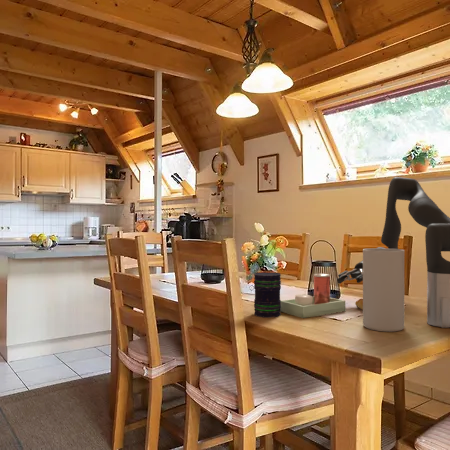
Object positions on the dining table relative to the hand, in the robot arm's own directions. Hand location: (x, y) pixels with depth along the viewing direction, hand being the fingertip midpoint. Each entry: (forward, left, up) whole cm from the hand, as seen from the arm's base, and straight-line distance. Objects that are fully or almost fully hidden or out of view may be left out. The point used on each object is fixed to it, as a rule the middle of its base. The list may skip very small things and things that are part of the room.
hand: (347, 280), depth 169 cm
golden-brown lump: (-8, -9, -11) cm, 16 cm away
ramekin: (-6, +20, -9) cm, 22 cm away
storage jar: (-7, +34, -11) cm, 36 cm away
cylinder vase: (-30, +1, -11) cm, 32 cm away
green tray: (-4, +16, -11) cm, 19 cm away
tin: (-2, +11, -9) cm, 15 cm away
